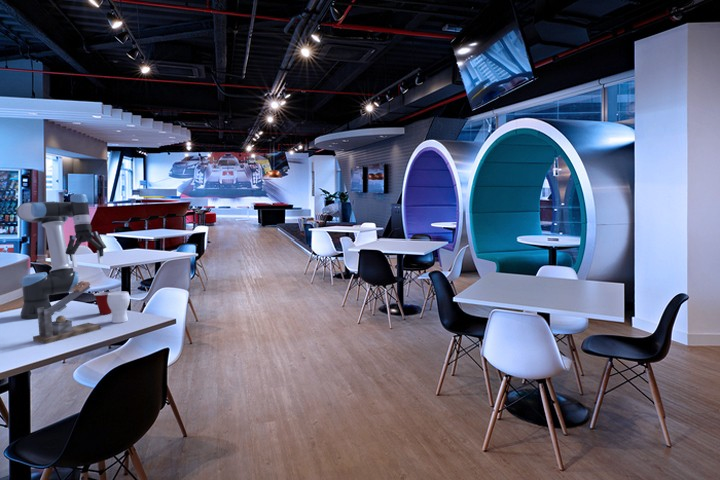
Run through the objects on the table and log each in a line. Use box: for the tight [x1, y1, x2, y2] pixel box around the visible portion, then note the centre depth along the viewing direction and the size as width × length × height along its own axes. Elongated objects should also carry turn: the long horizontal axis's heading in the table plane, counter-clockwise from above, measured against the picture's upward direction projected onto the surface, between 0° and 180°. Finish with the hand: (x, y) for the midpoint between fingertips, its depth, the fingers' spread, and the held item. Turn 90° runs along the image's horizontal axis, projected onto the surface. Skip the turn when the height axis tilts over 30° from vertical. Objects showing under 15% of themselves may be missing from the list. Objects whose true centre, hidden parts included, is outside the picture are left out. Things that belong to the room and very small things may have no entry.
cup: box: [107, 290, 131, 324], centre depth 249 cm, size 11×11×15 cm
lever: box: [42, 280, 91, 316], centre depth 224 cm, size 23×6×5 cm, turn 152°
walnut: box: [55, 315, 67, 323], centre depth 222 cm, size 4×4×4 cm
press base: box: [32, 307, 102, 345], centre depth 225 cm, size 26×10×15 cm, turn 152°
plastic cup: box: [93, 291, 113, 316], centre depth 265 cm, size 11×11×12 cm
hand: (88, 265), depth 241 cm, fingers open, 13 cm apart
